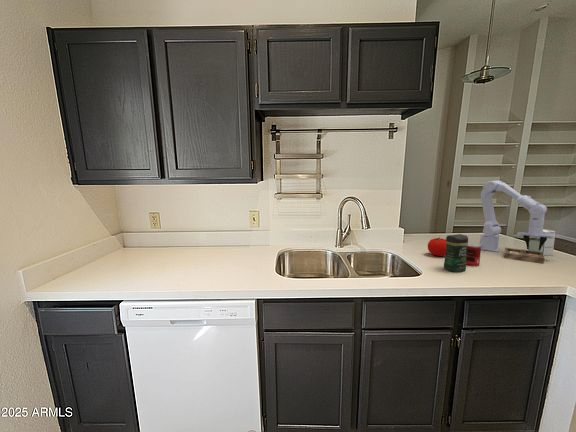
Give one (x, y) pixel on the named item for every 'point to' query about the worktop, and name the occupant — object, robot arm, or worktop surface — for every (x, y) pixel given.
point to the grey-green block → (533, 247)
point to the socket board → (523, 255)
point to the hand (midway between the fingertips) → (533, 249)
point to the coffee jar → (456, 253)
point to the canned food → (473, 254)
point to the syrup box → (547, 243)
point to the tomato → (437, 246)
